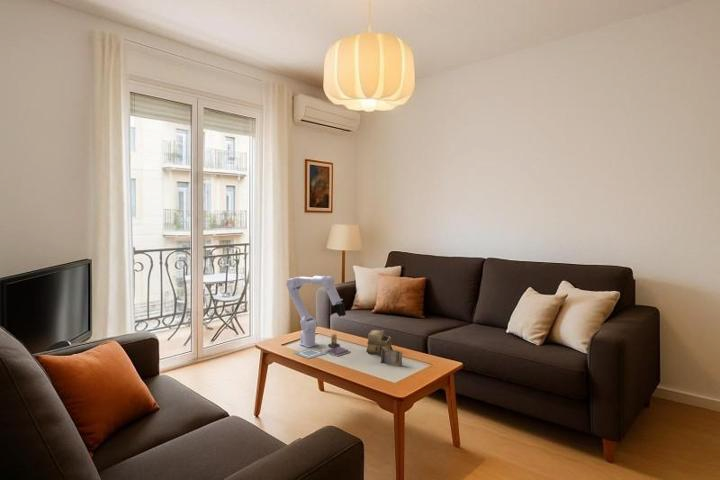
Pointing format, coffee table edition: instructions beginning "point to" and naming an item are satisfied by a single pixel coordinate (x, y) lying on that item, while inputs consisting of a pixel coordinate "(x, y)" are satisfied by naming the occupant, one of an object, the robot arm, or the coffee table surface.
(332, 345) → the wooden stamp
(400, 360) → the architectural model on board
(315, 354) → the marked board
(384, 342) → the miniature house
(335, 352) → the ink pad
